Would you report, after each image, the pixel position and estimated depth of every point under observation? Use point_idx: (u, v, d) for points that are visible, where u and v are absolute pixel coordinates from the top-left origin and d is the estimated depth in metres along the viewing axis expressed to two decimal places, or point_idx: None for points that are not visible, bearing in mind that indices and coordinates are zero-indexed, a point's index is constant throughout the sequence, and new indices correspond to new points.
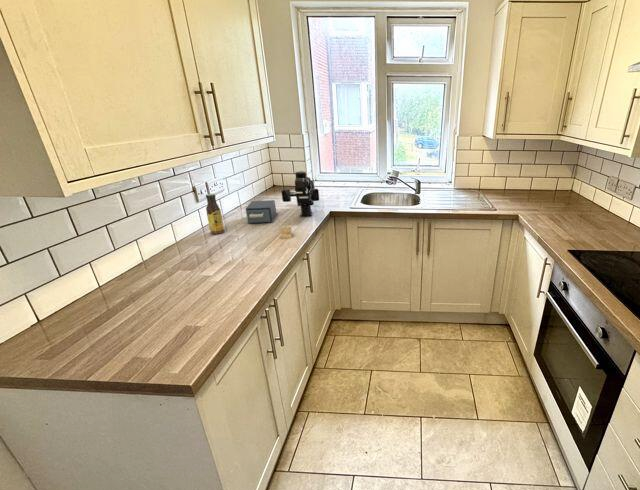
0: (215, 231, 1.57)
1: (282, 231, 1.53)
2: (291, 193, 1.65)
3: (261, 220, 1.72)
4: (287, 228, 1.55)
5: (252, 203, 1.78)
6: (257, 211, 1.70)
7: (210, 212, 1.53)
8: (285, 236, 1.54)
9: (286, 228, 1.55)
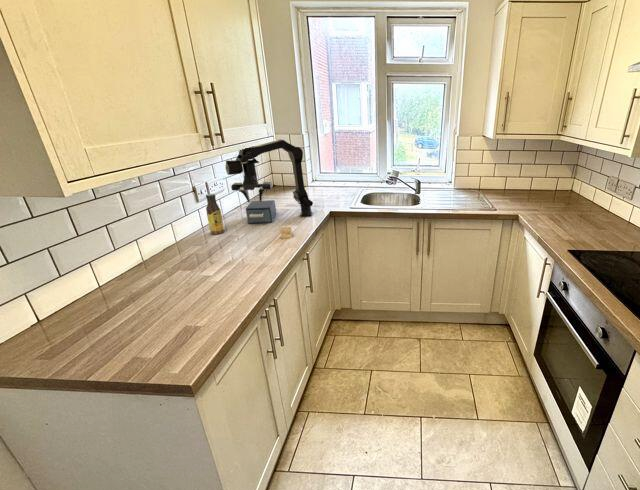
0: (215, 231, 1.57)
1: (282, 231, 1.53)
2: None
3: (261, 220, 1.72)
4: (287, 228, 1.55)
5: (252, 203, 1.78)
6: (257, 211, 1.70)
7: (210, 212, 1.53)
8: (285, 236, 1.54)
9: (286, 228, 1.55)
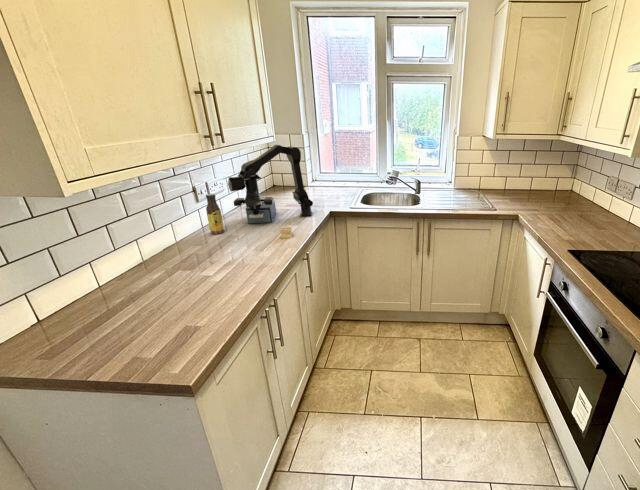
0: (215, 231, 1.57)
1: (282, 231, 1.53)
2: None
3: (261, 221, 1.72)
4: (287, 228, 1.55)
5: None
6: None
7: (210, 212, 1.53)
8: (285, 236, 1.54)
9: (286, 228, 1.55)
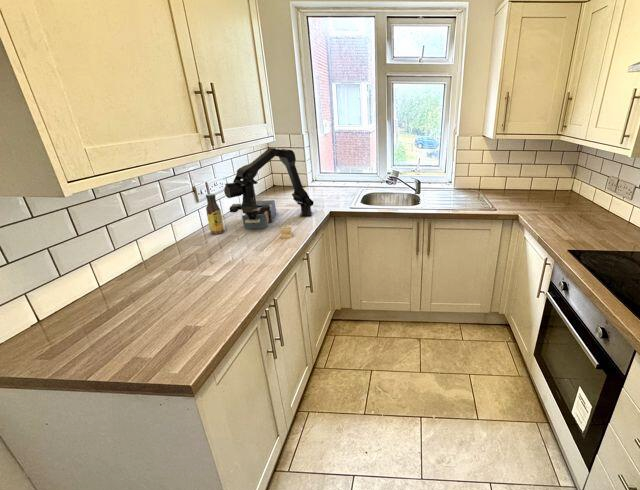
0: (215, 231, 1.57)
1: (282, 231, 1.53)
2: None
3: (257, 226, 1.65)
4: (287, 228, 1.55)
5: None
6: None
7: (210, 212, 1.53)
8: (285, 236, 1.54)
9: (286, 228, 1.55)
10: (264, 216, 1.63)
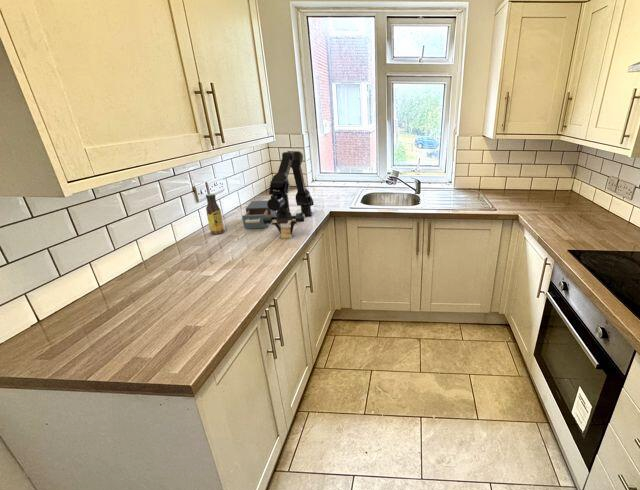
0: (215, 231, 1.57)
1: (282, 231, 1.53)
2: None
3: (257, 226, 1.65)
4: (287, 228, 1.55)
5: (252, 203, 1.78)
6: (253, 216, 1.62)
7: (210, 212, 1.53)
8: (285, 236, 1.54)
9: (286, 228, 1.55)
10: None
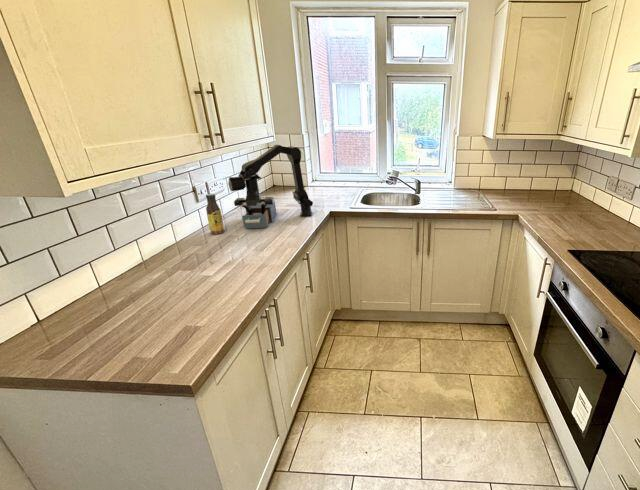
0: (215, 231, 1.57)
1: None
2: None
3: (257, 226, 1.65)
4: (258, 214, 1.68)
5: None
6: (253, 216, 1.62)
7: (210, 212, 1.53)
8: None
9: (257, 214, 1.68)
10: (264, 216, 1.63)
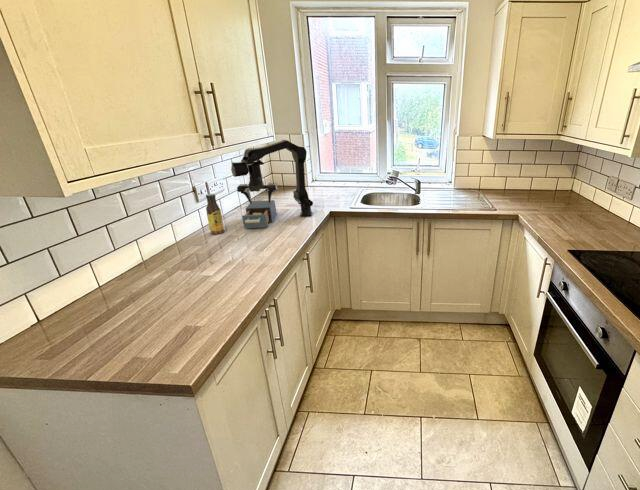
0: (215, 231, 1.57)
1: None
2: None
3: (257, 226, 1.65)
4: (258, 214, 1.68)
5: (252, 203, 1.78)
6: (253, 216, 1.62)
7: (210, 212, 1.53)
8: None
9: (257, 214, 1.68)
10: (264, 216, 1.63)
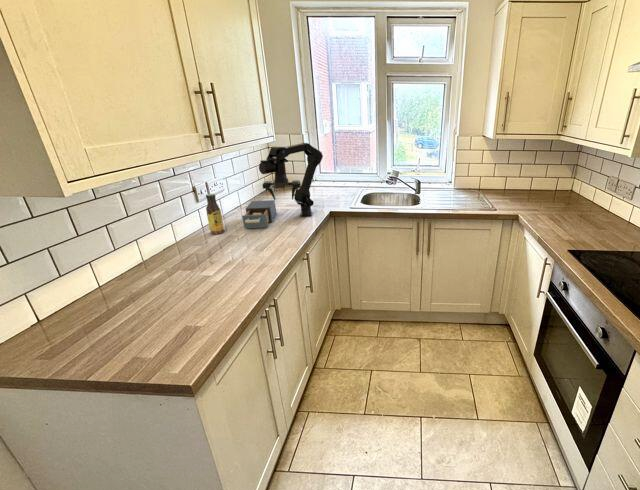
0: (215, 231, 1.57)
1: None
2: None
3: (257, 226, 1.65)
4: (258, 214, 1.68)
5: (252, 203, 1.78)
6: (253, 216, 1.62)
7: (210, 212, 1.53)
8: None
9: (257, 214, 1.68)
10: (264, 216, 1.63)
